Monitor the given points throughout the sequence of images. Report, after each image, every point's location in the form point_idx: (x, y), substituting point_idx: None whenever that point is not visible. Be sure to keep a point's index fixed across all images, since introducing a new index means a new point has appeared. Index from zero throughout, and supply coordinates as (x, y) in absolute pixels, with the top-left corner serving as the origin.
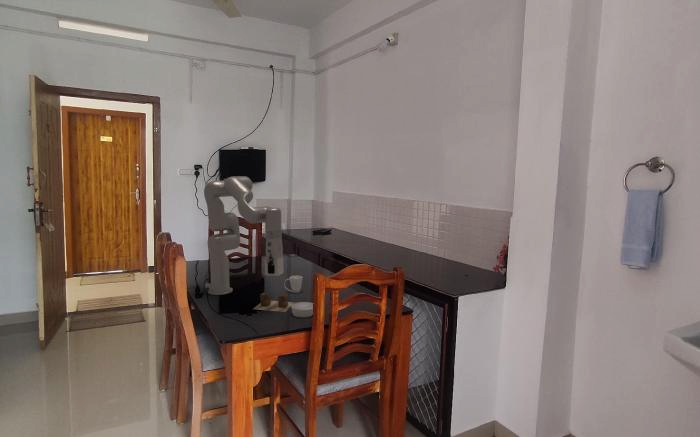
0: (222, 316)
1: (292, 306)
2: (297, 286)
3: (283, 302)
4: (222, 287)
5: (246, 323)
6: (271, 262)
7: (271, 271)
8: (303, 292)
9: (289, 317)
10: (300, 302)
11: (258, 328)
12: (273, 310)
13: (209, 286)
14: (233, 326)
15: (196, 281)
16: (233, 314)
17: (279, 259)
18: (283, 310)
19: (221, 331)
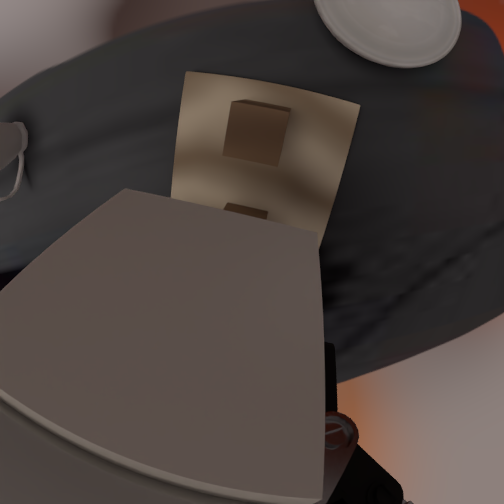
0: (348, 351)
1: (413, 60)
2: (7, 132)
3: (287, 123)
4: None
5: (440, 265)
6: (352, 477)
7: (331, 350)
8: (21, 103)
9: (391, 80)
10: (327, 10)
11: (494, 213)
12: (335, 171)
13: None
14: (454, 300)
15: None
16: (331, 326)
17: (189, 448)
18: (336, 115)
19: (478, 320)
